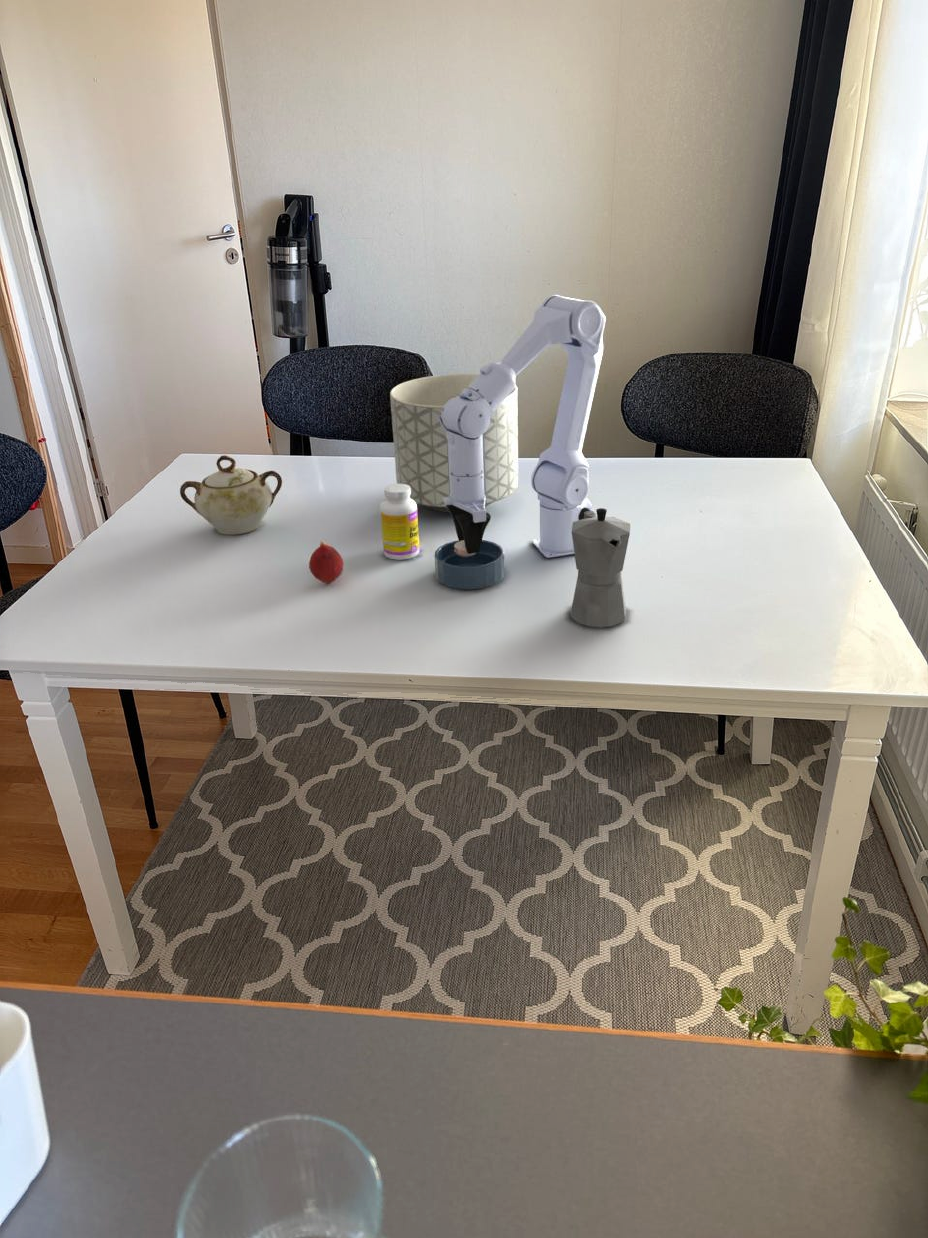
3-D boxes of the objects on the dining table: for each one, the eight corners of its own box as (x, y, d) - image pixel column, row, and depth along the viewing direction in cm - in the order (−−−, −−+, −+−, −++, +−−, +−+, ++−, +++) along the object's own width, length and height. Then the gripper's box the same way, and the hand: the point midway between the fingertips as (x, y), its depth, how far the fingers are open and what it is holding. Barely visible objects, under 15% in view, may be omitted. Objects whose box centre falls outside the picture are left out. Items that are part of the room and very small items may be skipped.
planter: (543, 503, 195) (543, 387, 184) (450, 536, 181) (444, 414, 170) (465, 475, 212) (461, 367, 201) (374, 503, 198) (364, 390, 187)
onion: (350, 578, 166) (346, 536, 162) (336, 592, 161) (331, 549, 157) (321, 575, 168) (316, 533, 164) (305, 588, 163) (300, 546, 159)
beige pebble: (449, 554, 163) (449, 540, 162) (473, 546, 166) (472, 533, 165) (464, 561, 160) (464, 548, 159) (487, 553, 163) (487, 540, 162)
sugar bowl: (185, 547, 181) (171, 472, 174) (189, 519, 194) (176, 448, 187) (289, 535, 185) (279, 461, 178) (285, 508, 198) (276, 439, 191)
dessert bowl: (492, 558, 171) (491, 535, 169) (514, 585, 161) (513, 561, 159) (428, 568, 169) (427, 545, 166) (446, 596, 158) (445, 571, 156)
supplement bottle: (414, 562, 171) (410, 495, 165) (379, 560, 172) (374, 493, 166) (423, 547, 177) (419, 482, 171) (389, 545, 178) (384, 480, 172)
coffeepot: (641, 629, 145) (648, 520, 137) (583, 638, 144) (586, 528, 135) (606, 587, 159) (610, 486, 150) (552, 595, 157) (553, 492, 149)
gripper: (431, 461, 161) (435, 534, 167) (455, 488, 149) (458, 566, 155) (471, 456, 163) (473, 529, 169) (497, 482, 150) (499, 560, 157)
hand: (469, 546), depth 162 cm, fingers closed on beige pebble, 4 cm apart
